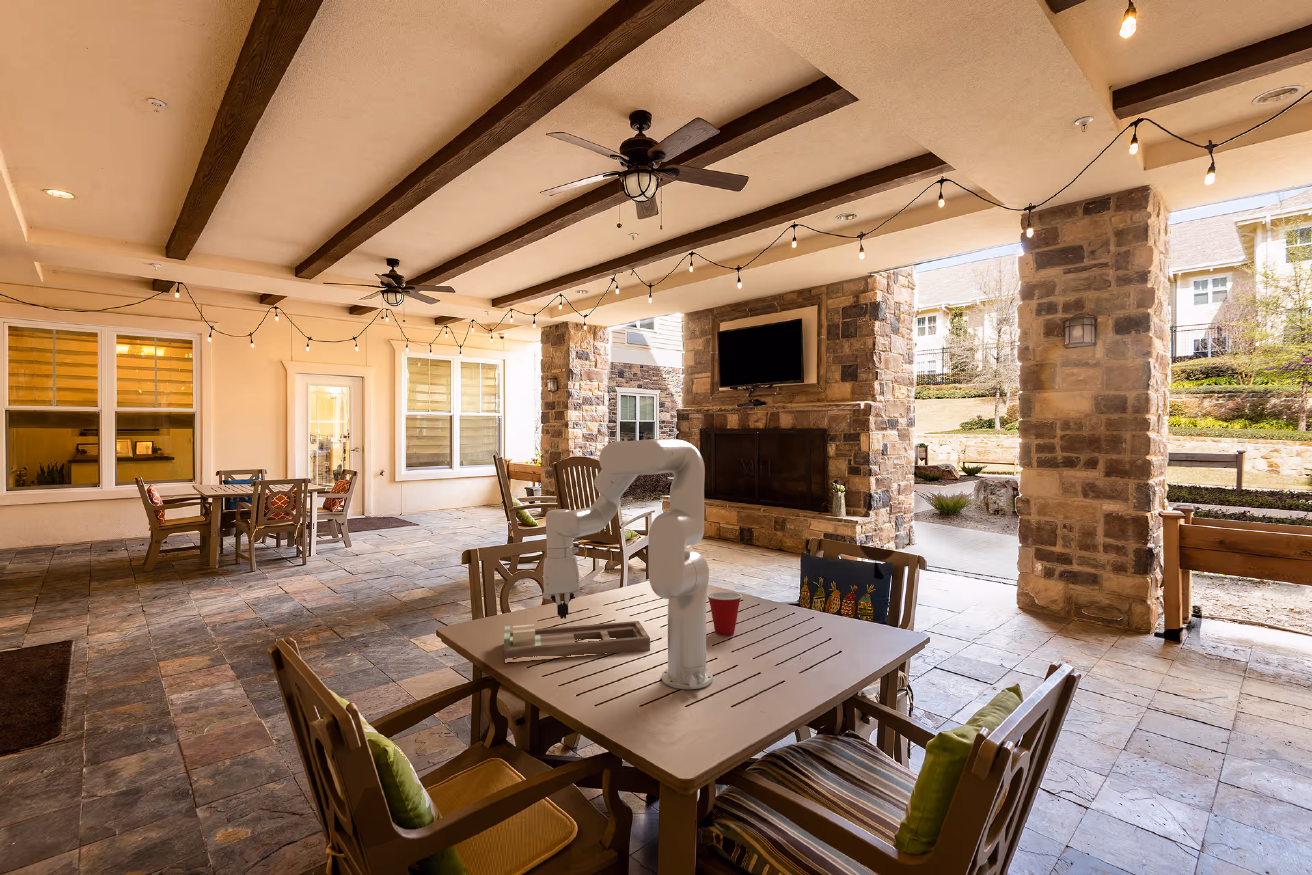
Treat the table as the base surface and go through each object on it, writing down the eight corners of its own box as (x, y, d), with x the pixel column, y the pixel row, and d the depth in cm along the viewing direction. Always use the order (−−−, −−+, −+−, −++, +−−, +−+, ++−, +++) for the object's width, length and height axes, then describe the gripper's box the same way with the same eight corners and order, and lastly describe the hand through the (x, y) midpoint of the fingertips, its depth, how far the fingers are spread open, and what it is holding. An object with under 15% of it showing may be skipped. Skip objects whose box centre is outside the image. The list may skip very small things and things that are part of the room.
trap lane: (650, 650, 167) (649, 628, 167) (503, 663, 158) (503, 641, 158) (638, 632, 183) (638, 612, 183) (505, 643, 173) (504, 623, 173)
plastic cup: (741, 627, 186) (741, 589, 186) (743, 639, 176) (743, 598, 176) (707, 626, 188) (706, 588, 188) (706, 638, 177) (706, 597, 177)
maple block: (535, 645, 165) (535, 630, 165) (513, 647, 163) (512, 632, 163) (534, 638, 170) (534, 624, 170) (513, 639, 169) (513, 625, 169)
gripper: (585, 548, 174) (587, 611, 174) (533, 553, 171) (536, 616, 171) (588, 552, 167) (590, 618, 167) (534, 557, 164) (536, 624, 163)
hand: (563, 617), depth 169 cm, fingers closed
